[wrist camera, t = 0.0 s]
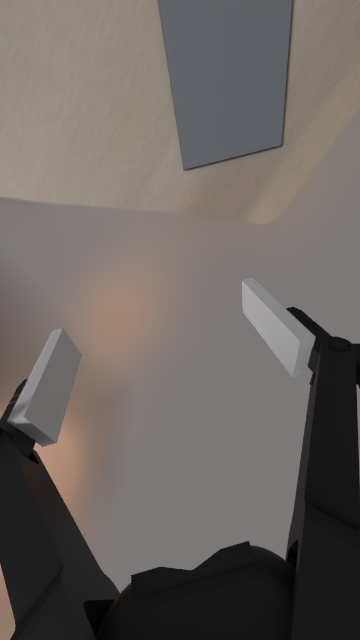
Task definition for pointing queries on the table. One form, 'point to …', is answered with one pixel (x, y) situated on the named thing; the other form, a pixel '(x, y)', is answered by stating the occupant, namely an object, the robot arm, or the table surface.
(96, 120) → the table surface
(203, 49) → the mat
